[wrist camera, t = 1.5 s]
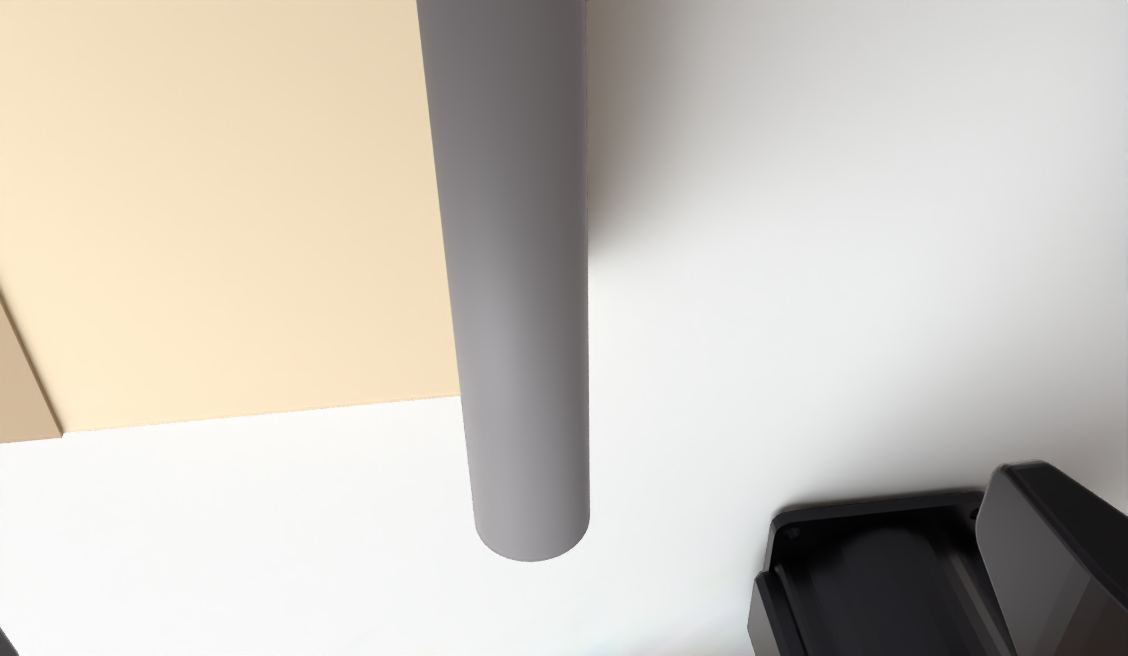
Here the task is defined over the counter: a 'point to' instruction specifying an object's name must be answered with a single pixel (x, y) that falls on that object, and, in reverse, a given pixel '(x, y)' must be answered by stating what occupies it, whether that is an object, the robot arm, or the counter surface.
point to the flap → (304, 226)
